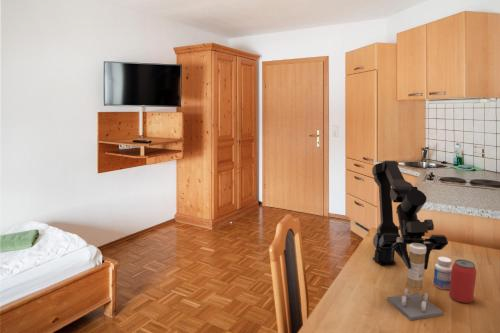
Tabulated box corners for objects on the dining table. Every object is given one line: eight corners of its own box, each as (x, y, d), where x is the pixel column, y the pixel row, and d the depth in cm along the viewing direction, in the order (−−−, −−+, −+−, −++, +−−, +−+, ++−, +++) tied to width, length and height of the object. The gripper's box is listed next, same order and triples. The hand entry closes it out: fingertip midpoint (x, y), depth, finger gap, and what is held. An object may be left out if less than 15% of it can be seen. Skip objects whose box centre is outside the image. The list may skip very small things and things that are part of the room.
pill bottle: (435, 280, 126) (437, 254, 124) (452, 285, 122) (455, 258, 121) (431, 286, 121) (434, 259, 120) (449, 291, 118) (452, 264, 116)
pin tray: (417, 295, 116) (418, 284, 115) (442, 315, 105) (444, 302, 104) (387, 300, 113) (388, 288, 112) (410, 320, 103) (411, 307, 102)
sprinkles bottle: (415, 282, 111) (419, 241, 108) (425, 290, 106) (430, 247, 104) (402, 284, 110) (406, 242, 107) (412, 291, 105) (416, 249, 103)
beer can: (464, 292, 118) (468, 258, 115) (477, 303, 111) (482, 267, 109) (444, 292, 117) (448, 258, 115) (456, 304, 111) (461, 268, 109)
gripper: (384, 208, 108) (392, 258, 100) (448, 209, 107) (462, 261, 98) (376, 223, 117) (382, 270, 109) (435, 225, 116) (446, 273, 107)
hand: (417, 268), depth 105 cm, fingers closed on sprinkles bottle, 4 cm apart
